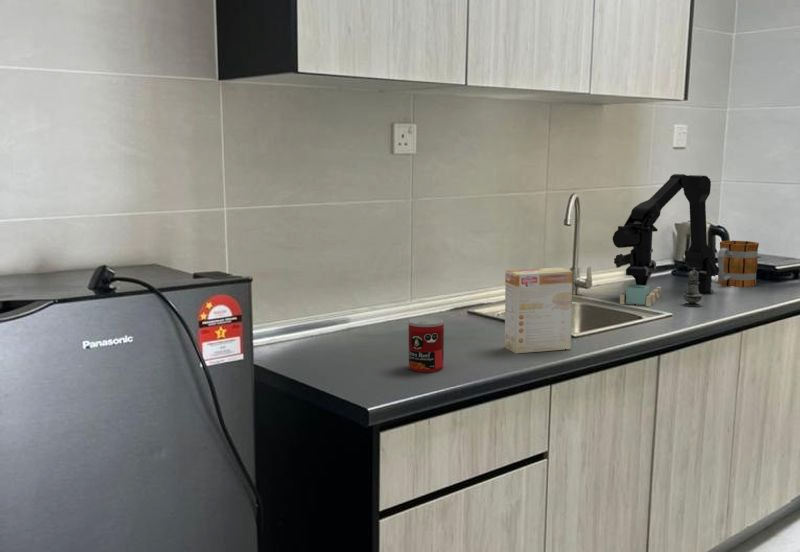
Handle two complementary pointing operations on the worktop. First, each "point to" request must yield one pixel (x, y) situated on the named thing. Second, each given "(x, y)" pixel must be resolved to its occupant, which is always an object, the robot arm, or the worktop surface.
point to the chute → (649, 299)
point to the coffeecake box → (538, 309)
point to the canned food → (426, 344)
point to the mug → (737, 263)
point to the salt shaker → (692, 290)
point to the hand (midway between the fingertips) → (640, 294)
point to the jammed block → (637, 294)
